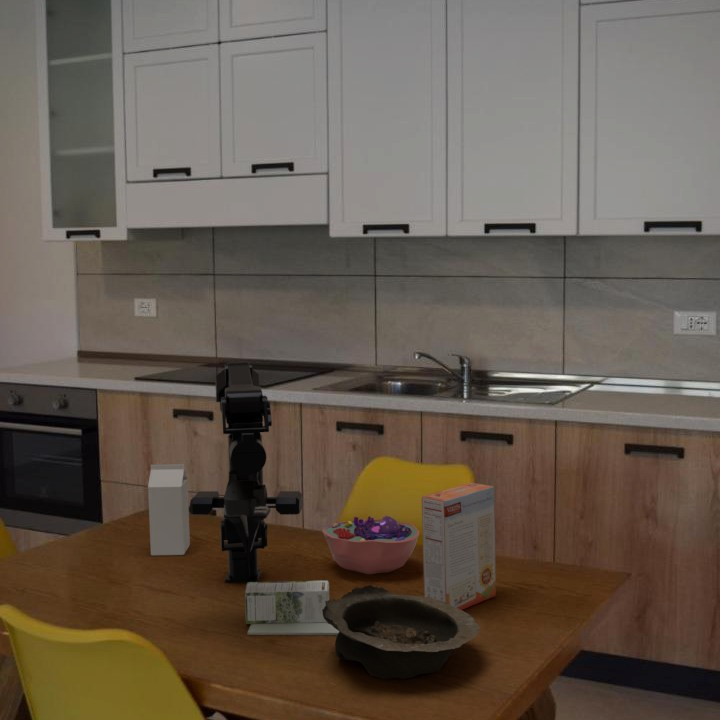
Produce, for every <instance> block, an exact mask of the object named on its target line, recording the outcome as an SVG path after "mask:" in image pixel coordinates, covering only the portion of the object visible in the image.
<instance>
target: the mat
mask: <svg viewBox="0 0 720 720" xmlns="http://www.w3.org/2000/svg"><path fill="white" fill-rule="evenodd" d="M338 633H339V631H338V630H337V629H335V628H334V627H333V626H332V625H331V624H328V623H327V622H321V623H267V624H250V626H249V629H248V631H247V635H248V636H254V635H255V636H257V635H258V636H263V635H264V636H265V635H266V636H269V635H270V636H285V635H286V636H337V635H338Z"/></svg>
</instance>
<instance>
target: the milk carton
mask: <svg viewBox="0 0 720 720" xmlns="http://www.w3.org/2000/svg"><path fill="white" fill-rule="evenodd" d="M148 479H149V480H148V485H147V491H148V492H147V494H148V514H149V515H148V516H149V519H148V520H149V543H150V556H184V555H185V554H186V552H187V551H188V549H189V547H190V546H191V539H190V536H191V535H190V514H189V513H190V506H189V489H188V488H189V487H188V476H187V473H186V470H185V463H180V464H179V463H177V464H175V463H174V464H172V463H171V464H166V463H165V464H150V473H149V478H148Z"/></svg>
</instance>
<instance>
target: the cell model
mask: <svg viewBox="0 0 720 720" xmlns="http://www.w3.org/2000/svg"><path fill="white" fill-rule="evenodd" d="M321 532H322V534H323V536H324V538H325V541H326V543H327V546H328V548H329V549H330V552H331V553H330V554H331V555H332V558H333V560H334V561H335V563H336V564H337V565H338V566H339V567H341V568H343V569H344V570H348V571H351V572H356V573H360V574H364V575H375V574H389V573H391V572H393V571H396V570H398V569H400V568H402V567H403V566H404V565H405V564H406V563H407V561H408V560H409V558H410V557H411V555H412V554H413V552H414V549H415V547H416V544H417V542H418V540H419V536H420V534H421V533H420V532H421V531H420V530H419V529H418V528H417V527H416V526H415V525H414V524H412V523H409V522H401V521H397V520H396V519H395V518H393V517H391V516H389V515H385V516H383V517H382V518H374V517H371V516H370V515H369V516H367V519H364V518H361V519H359V517H357V516H353V520H348V521H347V520H345V521H340V522H338V521H337V522H335V523H333V524H330V525H328V526H326V527H323V529H321Z"/></svg>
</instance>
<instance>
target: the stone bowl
mask: <svg viewBox="0 0 720 720" xmlns="http://www.w3.org/2000/svg"><path fill="white" fill-rule="evenodd" d="M325 603H326V606H325V607H324V609H322V612H323V617H324V619H325V620H326V621H327V623H328V624H331V625H332V626H333V627H334V628H335V629H337V630H338V631H339V633H338V635H336V638H335V642H334V648H335V650H334V651H335V655H336V657H337V658H338V659H340V660H345V661H351V662H352V661H353V662H354V661H355V662H360V663H361V665H362V666H363V667H364V668H365V670H366V671H367V672H368V673H369V675H370V676H372V677H376V678H378V679H381V680H392V679H394V678H395V679H396V678H397V679H401V680H407V679H411V678H415V677H416V676H419V675H425V674H432V673H434V674H435V673H438V672H439V671H440V670H441V669H442V667H443V666H444V664H445V663H447V662H448V660H449V658H450V656H451V655H452V653H453V651H454V650H455V649H458V648H461V647H462V645H464V644H466V643H468V642H469V641H471V640H473V639H475V638H476V636H477V635H478V634H479V632H480V629H481V628H480V625H479V624H478V623H476V622H475V621H476V619H475V618H473V616H472V615H471V614H469V613H467V612H465V611H464V610H460V609H458V608H455V607H453V606H451V605H450V604H448V603H446V602H442V601H439V600H436V599H433V598H429V597H424V596H423V595H411V594H395V593H393V592H391V591H389V590H387V589H385V588H384V587H381V586H380V587H378V586H373V585H365V586H363V587H362V586H361V587H357V586H356V587H355V588H353V589H352V590H351V591H349V592H347V593H346V594H344V595H343V596H341V597H340V599H335V598H333V599H331V600H328V601H325Z"/></svg>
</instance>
